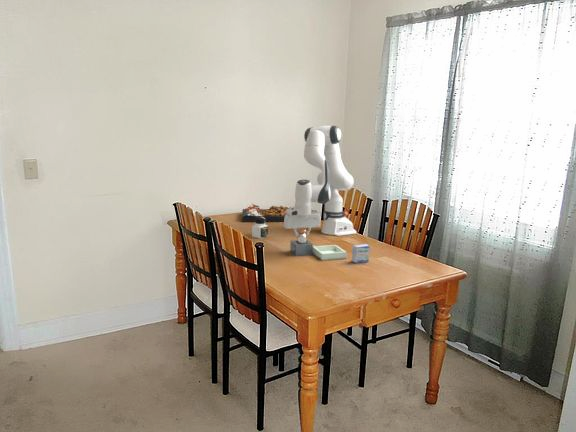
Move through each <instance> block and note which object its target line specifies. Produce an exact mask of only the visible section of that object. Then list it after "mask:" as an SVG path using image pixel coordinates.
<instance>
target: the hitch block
mask: <svg viewBox="0 0 576 432" xmlns="http://www.w3.org/2000/svg"><path fill="white" fill-rule="evenodd" d="M289 242H290V243H289V244H290V245H289V247H290V248H289V249H290V250H289V251H290V252H291V253H292V254H293V255H294V256H295V257H302V256H303V257H304V256H313V253H312V252H313V246H314V244H313V243H312V242H311V241H309V240H308V239H306V244H298V239H294V240H293V239H292V240H290V241H289Z"/></svg>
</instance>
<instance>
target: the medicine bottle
mask: <svg viewBox="0 0 576 432" xmlns="http://www.w3.org/2000/svg"><path fill="white" fill-rule="evenodd" d="M268 237H269V225H267V224H266V222H265V218H264V217H257V218H255V222H254V224H253V225H251V238H254V239H260V240H261V239H265V238H268Z"/></svg>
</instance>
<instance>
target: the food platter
mask: <svg viewBox="0 0 576 432" xmlns="http://www.w3.org/2000/svg"><path fill="white" fill-rule="evenodd" d="M251 203H252V204H249V206H247V207H246V208H243V209H242V211H241V213H242V214H241V223H255V218H257V217H264V218H265V223H274V222H277V223H278V222H282V223H283V224H284V218H285V215H286V214H287V213H286V210H287V209H289V208H292V207H291V206H290V207H288V206H282V205H280V206H277V205H276V206H275V205H271V206H270V207H269V208H266V209H263V208H260V206H259V205H256V204H254V203H253V202H251Z"/></svg>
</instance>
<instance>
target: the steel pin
mask: <svg viewBox="0 0 576 432" xmlns="http://www.w3.org/2000/svg"><path fill="white" fill-rule="evenodd" d="M297 232H298V233H299V236H297V240H298V244H306V240H307V235H306V232H307V228H297Z"/></svg>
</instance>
